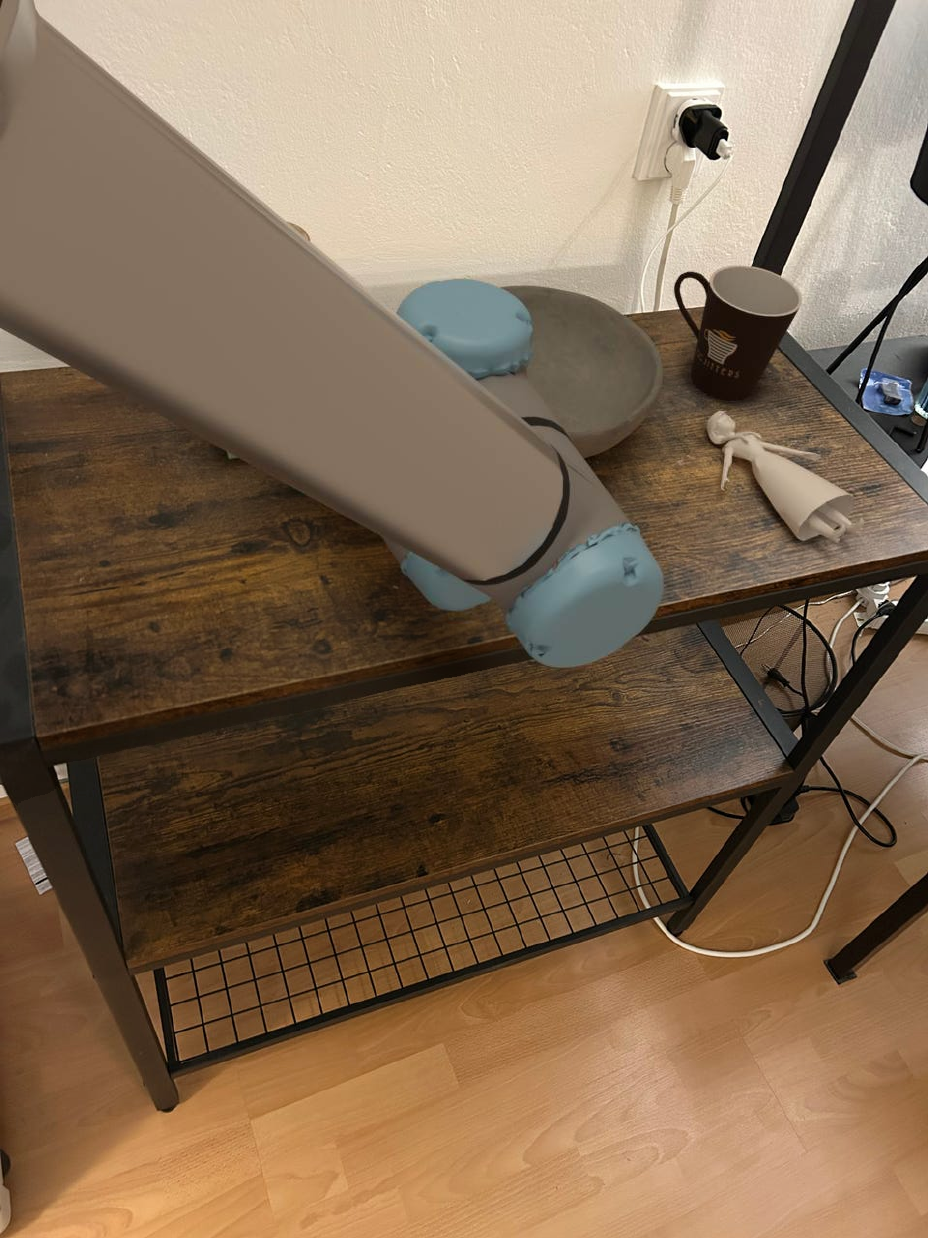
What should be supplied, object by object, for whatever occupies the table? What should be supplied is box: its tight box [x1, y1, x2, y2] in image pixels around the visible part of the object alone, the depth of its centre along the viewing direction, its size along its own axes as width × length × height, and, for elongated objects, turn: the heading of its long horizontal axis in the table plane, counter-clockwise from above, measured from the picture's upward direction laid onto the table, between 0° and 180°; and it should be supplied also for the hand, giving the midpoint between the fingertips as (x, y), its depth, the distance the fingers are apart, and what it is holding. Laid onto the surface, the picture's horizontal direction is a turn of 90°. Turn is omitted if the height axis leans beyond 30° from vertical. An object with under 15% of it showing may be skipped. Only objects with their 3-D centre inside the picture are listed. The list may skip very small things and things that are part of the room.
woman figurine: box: [706, 410, 866, 544], centre depth 85 cm, size 12×4×18 cm
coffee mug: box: [673, 264, 803, 401], centre depth 94 cm, size 12×9×10 cm
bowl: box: [499, 285, 664, 460], centre depth 86 cm, size 21×21×8 cm
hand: (247, 265), depth 80 cm, fingers closed on tea tin, 6 cm apart
